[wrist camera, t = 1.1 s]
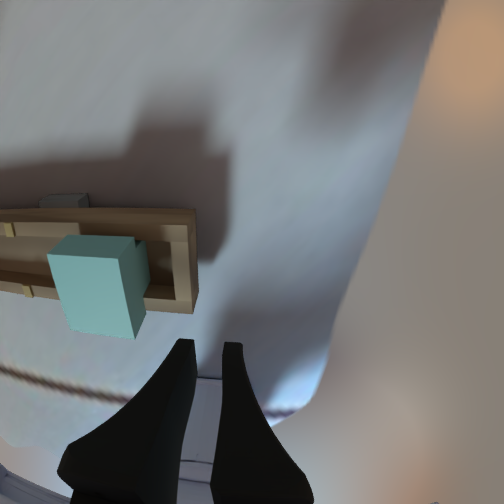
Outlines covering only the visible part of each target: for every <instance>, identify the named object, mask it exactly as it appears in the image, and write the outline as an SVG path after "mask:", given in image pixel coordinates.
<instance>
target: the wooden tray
mask: <svg viewBox="0 0 504 504" xmlns="http://www.w3.org/2000/svg"><path fill="white" fill-rule="evenodd" d="M39 207H40V208H32V209H0V291H6V292H12V293H17V294H23V295H25V297H31V298H33V297H34V296H36V297H42V298H49V299H56V300H60V298H59V295H58V292H57V289H56V286H55V282H54V279H53V275H52V272H51V268H50V265H49V261H48V257H47V253H48V252H49V251H51V250H52V249H53V248H54V247H55V246H56V245H57V244H58V243H59V242H60V241H61V240H62V239H63V238H64V237H65V236H67V235H97V236H125V237H134V239H135V240H143V241H146V248H147V257H148V264H149V272H150V279H151V281H150V283H149V285H148V287H147V289H146V291H145V293H144V295H143V298H144V304H145V309H146V310H149V311H160V312H171V313H184V314H193V312H194V308H195V304H196V300H197V297H198V293H199V284H198V265H197V242H196V211H195V209H172V208H90V207H89V200H88V194H57V195H48V196H47V197H45V198H44V199H42V200H41V201H39Z"/></svg>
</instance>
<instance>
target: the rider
mask: <svg viewBox="0 0 504 504" xmlns="http://www.w3.org/2000/svg"><path fill="white" fill-rule="evenodd" d="M47 257H48V261H49V265H50V268H51V272H52V275H53V279H54V282H55V286H56V289H57V292H58V295H59V298H60V301H61V304H62V307H63V310H64V313H65V316H66V319H67V322H68V324H69V327H70V330H74V331H79V332H85V333H91V334H98V335H104V336H111V337H118V338H126V339H133V340H135V338H136V336H137V334H138V331H139V329H140V327H141V324H142V322H143V320H144V318H145V315H146V309H145V304H144V298H143V295H144V293H145V291H146V289H147V287H148V285H149V283H150V281H151V279H150V272H149V264H148V257H147V248H146V241H143V240H135V239H134V237H125V236H97V235H67V236H65V237H64V238H63V239H62V240H61V241H60V242H59V243H58V244H57V245H56V246H55V247H54V248H53V249H52V250H51V251H49V252H48V253H47Z"/></svg>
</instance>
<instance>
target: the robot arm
mask: <svg viewBox="0 0 504 504" xmlns="http://www.w3.org/2000/svg"><path fill="white" fill-rule="evenodd" d="M197 373H198V372H197V363H196V354H195V344H194V340H193V339H181V338H179V339H178V340H177V341H176V343H175V344H174V346H173V348H172V349H171V351H170V352H169V354H168V355H167V357H166V358H165V360H164V361H163V362H162V364H161V365H160V366H159V368H158V369H157V370H156V372H155V373H154V374H153V376H152V377H151V378H150V379H149V380H148V382H147V383H146V384H145V385H144V386H143V387H142V389H141V390H140V391H139V392H138V393H137V394H136V395H135V396H134V397H133V398H132V399H131V400H130V401H129V402H128V403H127V404H126V405H125V406H124V407H123V408H121V409H120V410H119V411H118V412H117V413H116V414H115V415H113V416H112V417H111V418H110V419H108V420H107V421H106V422H104V423H103V424H101V425H100V426H98V427H97V428H96V429H94V430H93V431H91V432H90V433H88V434H86V435H85V436H83V437H81V438H79V439H78V440H76V441H74V442H72V443H70V444H68V446H67V448H66V450H65V452H64V454H63V456H62V458H61V461H60V464H59V467H58V469H57V474H58V476H59V477H60V478H61V479H62V480H63V481H64V482H65V483H66V484H68V485H69V486H70V487H71V488H72V489H73V490H74V491H73V494H72V498H68V497H66V496H63V495H60V494H58V493H56V492H53V491H51V490H48V489H46V488H44V487H41V486H39V485H37V484H35V483H32V482H30V481H28V480H26V479H24V478H22V477H20V476H18V475H16V474H14V473H12V472H10V471H8V470H7V469H6V468H5V467H4V466H3V465H1V463H0V504H313V503H314V497H313V493H312V490H311V487H310V484H309V482H308V480H307V478H306V475H305V474H304V473H303V472H302V470H301V469H300V468H299V467H298V466H297V465H296V463H295V462H294V461H293V460H292V458H291V457H290V456H289V454H288V453H287V452H286V450H285V449H284V448H283V446H282V445H281V443H280V442H279V440H278V439H277V437H276V436H275V434H274V433H273V431H272V429H271V428H270V426H269V424H268V422H267V420H266V419H265V417H264V415H263V413H262V411H261V409H260V406H259V404H258V402H257V400H256V397H255V395H254V392H253V390H252V387H251V384H250V381H249V378H248V375H247V371H246V367H245V363H244V358H243V345H242V344H241V343H238V342H225V343H224V348H223V354H222V380H215V379H202V378H197ZM431 504H439V503H438V502H434V503H431Z"/></svg>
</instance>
